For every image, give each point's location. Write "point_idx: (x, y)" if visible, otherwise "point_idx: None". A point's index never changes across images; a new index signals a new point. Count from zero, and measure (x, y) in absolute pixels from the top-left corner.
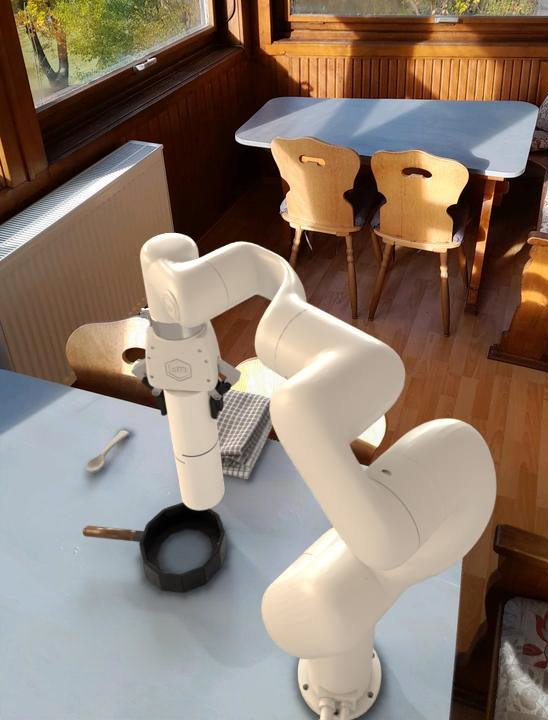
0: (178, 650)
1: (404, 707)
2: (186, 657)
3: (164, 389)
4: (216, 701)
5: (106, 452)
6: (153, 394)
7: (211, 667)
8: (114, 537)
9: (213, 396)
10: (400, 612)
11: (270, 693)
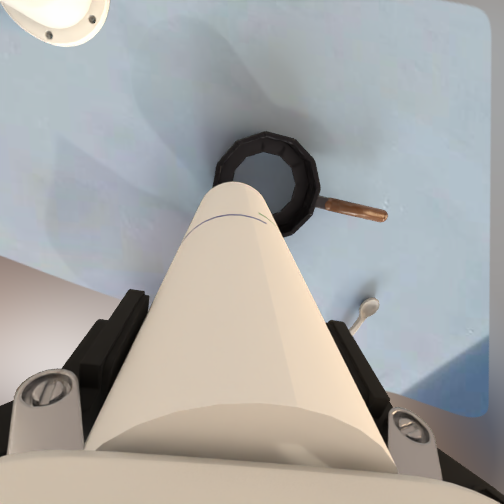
0: (265, 53)
1: None
2: (255, 42)
3: (395, 465)
4: None
5: (358, 321)
6: (415, 416)
7: (224, 22)
8: (350, 202)
9: (69, 392)
10: None
11: None
